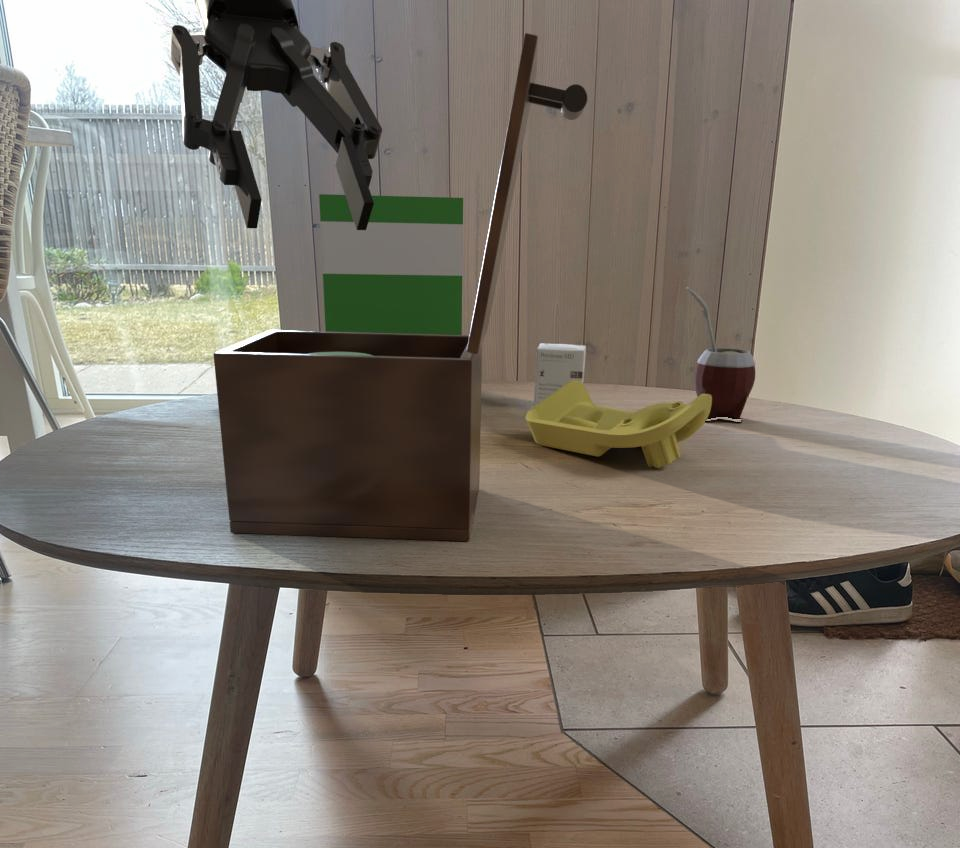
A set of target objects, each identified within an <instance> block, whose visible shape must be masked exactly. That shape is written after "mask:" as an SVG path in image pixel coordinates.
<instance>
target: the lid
mask: <svg viewBox="0 0 960 848" xmlns="http://www.w3.org/2000/svg"><path fill="white" fill-rule="evenodd" d="M538 41H539V36H538V35H537V34H532V33H528V32H525V33H524V36H523V42H522V47H521V52H520V59H519V63H518V69H517V74H516V80H515V84H514V91H513V97H512V102H511V107H510V113H509V118H508V124H507V127H506V134H505V140H504V145H503V151H502V155H501V162H500V167H499V171H498V172H499V173H498V178H497V184H496V188H495V194H494V200H493V205H492V209H491V210H492V211H491V216H490V220H489V226H488V233H487V237H486V242H485V243H486V244H485V249H484V255H483V260H482V265H481V271H480V275H479V282H478V287H477V292H476V298H475V304H474V310H473V315H472V319H471V325H470V331H469V341H468V346H467V352H469V353H474V354H478V352H479V350H480V347H481V345H482V346H483V342H484V340H485V337H486V335H487V333H488V329H489V323H490V319H491V314H492V310H493V309H492V307H493V302H494V298H495V294H496V293H495V291H496V287H497V283H498V277H499V272H500V266H501V261H502V255H503V250H504V245H505V240H506V236H507V235H506V234H507V230H508V225H509V220H510V214H511V210H512V209H511V208H512V204H513V203H512V202H513V197H514V193H515V187H516V183H517V177H518V173H519V172H518V171H519V167H520V161H521V156H522V151H523V147H524V140H525V135H526V130H527V124H528V120H529V115H530V110H531V105H537V106H540V107H546V108H550V109H555V110H558V111H559V110H560V112H561V114H562V116H563V118H565V119H566V120H569V121H574V120H577V119H578V118H580V117H581V116H582V114H583V112H584V110H585V108H586V106H587V103H588V93H587V92H588V91H587V90H586V88H585V87H583V86H582V85H580V84H577V83H576V84H575V83H574V84H571V85H569V86H568V87H566V89H561V88H557V87H553V86H548V85H545V84H544V85H543V84H539V83H535V82H536V77H537V71H538V70H537V69H538V67H537V66H538V48H539V47H538V45H539V44H538V43H539V42H538Z"/></svg>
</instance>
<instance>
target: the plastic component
mask: <svg viewBox="0 0 960 848" xmlns="http://www.w3.org/2000/svg"><path fill="white" fill-rule="evenodd" d="M711 405H712V396H711V395H710V394H701V395H699V396H698V397H697V396H696V398H694V399H693V400H692V401H691V402H689V403H688V404H686V403H684V401H682V400H679V401H674V402H667V401H666V402H659V403H654V404H653V403H652V404H650V405H647V406H645V407H642V408H640V409H638V410H636V411H634V410H628V409H620V408H613V407H607V406H606V407H605V406H597V405H595V404H594V401H593V400H592V398H591V396H590V394H589V392H588V390H587V388H586V387H585V385H584V382H583V383H582V382H580V381H578V380H570V381H569V382H568V383H566V384H565V385H563V386H562V387H561V388H559V389H558V390H556V391H555V392H554V393H552V394H551V395H550V396H548V397H547V398H545V399H544V400H543V401H541V402H540V403H538V404H537V405H536V406H534V405H533V407H531V408H530V409H529V410H528V411H527V412H526V415H525V420H526V423H527V425H528V427H529V430H530V432H531V436H532V437H533V440H534V442H535V443H536V444H537V445H540V446H541V447H542V446H543V447H547V448H553V449H557V450H563V451H568V452H572V453H577V454H583V455H587V456H592V457H601V456H602V455H604V454H605V453H607V452H608V451H609V450H610V449H612V448H615V449H616V448H617V449H622V448H623V449H626V448H627V449H628V448H638V447H641V450H642V453H643V455H644V459H645V462H646V464H647V466H648V467H649V468H651V467H654V468H655V469H660V468H661V467H663V466H666V465H667V466H670V465H672V463H673V462H674V461H675V460H677V459H680V457H681V453H680V452H681V449H680V446H679V442H682V441H685V440H687V439H689V438H690V437H691V436H693V435H694V434H695V433H697V432H698V431H699V430H700V429H701V428H702V427H703V426H704V424H705V423H706V422H705V421H706V420H707V418H708V416H709V413H710V410H711Z"/></svg>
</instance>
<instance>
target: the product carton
mask: <svg viewBox="0 0 960 848" xmlns="http://www.w3.org/2000/svg"><path fill="white" fill-rule="evenodd" d="M586 353H587V345H586V344H570V343H569V344H568V343H567V344H566V343H547V342H546V343H545V342H544V343H543V342H541V343H539V345H538V347H537V348H536V358H535V377H534V378H535V379H534V391H533V392H534V393H533V407H534V406H536V405H537V404H538V403H540V402H541V401H543V400H544V399H545V398H547V397H548V396H550V395H551V394H552V393H554V392H555V391H556V390H558V389H559V388H561V387H562V386H563V385H565V384H566V383H568V382H569V381H570V380H578V381H580V382H582V383H583V384H584V380H585V378H584V377H585V367H586V366H585V365H586Z"/></svg>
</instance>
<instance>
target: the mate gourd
mask: <svg viewBox="0 0 960 848" xmlns="http://www.w3.org/2000/svg"><path fill="white" fill-rule="evenodd" d="M685 290H687V291H688V292H689V293H690V295H691V296H692V297H693V298H694V299H695V300H696V301H697V302H698V304H699V306H700V307H701V313H702V315H703V317H704V320H705V325H706V330H707V334H708V340H709V344H710V348H707V349H705V350H704V351H703V352H702V354H701V355H700V356H699V357H698V359H697V363H696V366H695V368H694V374H693V375H694V377H693V379H694V381H693V383H694V390H695V394H696V398H697V397H698V396H699V395H701V394H710V395H711V396H712V405H711V410H710V413H709V416H708V418H707V419H711V418H716V417H728V418H732V419H743V418H742V413H743V411H744V409H745V406H746V404H747V400H748V398H749V396H750V395H751V392H752V389H753V387H754V385H755V382H756V381H755V380H756V362H755V359H754V357H753V355H752V353H751V352H750V351H749V350H746V349H739V348H726V347H717V346H716V341H715V337H714V332H713V327H712V321H711V317H710V315H711V313H710V312H711V311H710V309H709V306H708V305H707V304H706V302H705V301H704V300H703V299H702V297H701V296H700V295H699V294H697V293H696V292H695V291H694V290H692V289H691V288H690V287H688V286H686V287H685Z"/></svg>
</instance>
